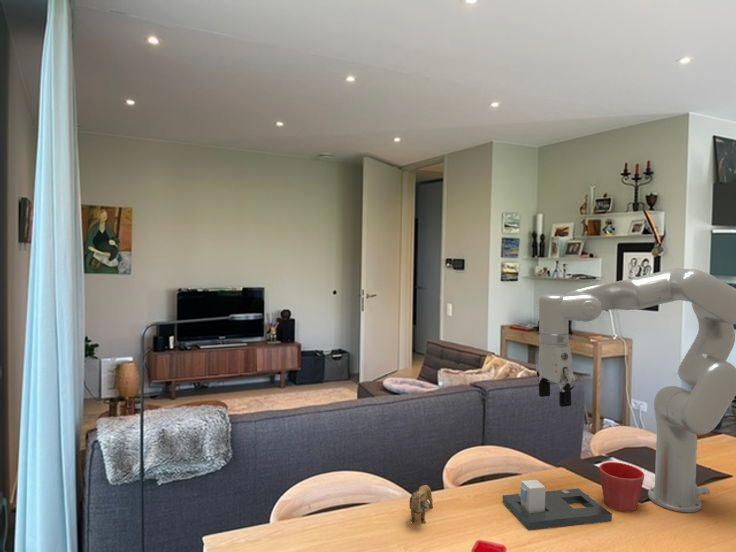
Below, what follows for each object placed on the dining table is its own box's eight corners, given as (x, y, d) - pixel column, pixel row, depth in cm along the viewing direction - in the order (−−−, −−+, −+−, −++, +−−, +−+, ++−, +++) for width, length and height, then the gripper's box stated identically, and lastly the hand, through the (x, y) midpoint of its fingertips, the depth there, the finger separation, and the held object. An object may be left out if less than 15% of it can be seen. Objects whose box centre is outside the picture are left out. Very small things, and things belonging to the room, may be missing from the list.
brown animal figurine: (429, 532, 122) (429, 496, 122) (407, 530, 123) (407, 494, 123) (434, 503, 137) (434, 470, 136) (414, 501, 138) (414, 469, 137)
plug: (535, 509, 134) (536, 479, 134) (544, 517, 130) (545, 487, 129) (517, 510, 133) (518, 481, 133) (526, 519, 129) (526, 488, 128)
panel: (578, 495, 142) (578, 487, 142) (611, 521, 128) (611, 512, 128) (502, 502, 137) (502, 494, 137) (528, 530, 124) (528, 521, 124)
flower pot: (649, 517, 130) (650, 480, 130) (603, 512, 133) (604, 476, 132) (636, 498, 141) (637, 463, 140) (594, 493, 143) (595, 460, 143)
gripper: (586, 343, 130) (586, 408, 131) (548, 333, 147) (548, 391, 148) (560, 345, 129) (561, 411, 130) (524, 335, 146) (525, 393, 146)
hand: (554, 400), depth 139 cm, fingers open, 9 cm apart
